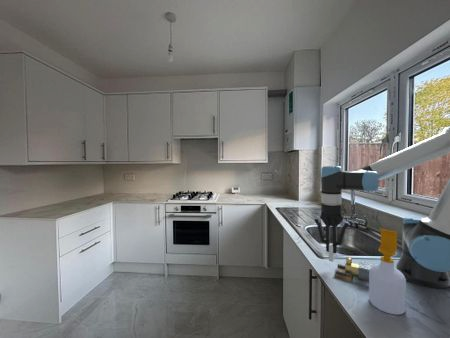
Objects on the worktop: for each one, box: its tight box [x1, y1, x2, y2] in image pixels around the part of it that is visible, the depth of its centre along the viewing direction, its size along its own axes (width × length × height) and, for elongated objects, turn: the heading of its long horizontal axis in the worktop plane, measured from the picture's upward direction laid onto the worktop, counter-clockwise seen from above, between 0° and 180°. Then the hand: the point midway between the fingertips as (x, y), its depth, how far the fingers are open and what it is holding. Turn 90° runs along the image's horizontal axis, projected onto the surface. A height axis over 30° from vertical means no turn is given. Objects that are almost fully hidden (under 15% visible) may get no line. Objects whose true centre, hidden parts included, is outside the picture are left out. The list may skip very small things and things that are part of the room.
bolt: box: [345, 256, 359, 276], centre depth 82 cm, size 7×3×5 cm, turn 54°
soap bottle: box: [368, 227, 407, 316], centre depth 66 cm, size 9×9×25 cm
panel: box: [334, 266, 369, 288], centre depth 82 cm, size 13×9×1 cm
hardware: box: [334, 260, 377, 282], centre depth 82 cm, size 13×7×5 cm, turn 54°
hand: (331, 259), depth 87 cm, fingers closed
